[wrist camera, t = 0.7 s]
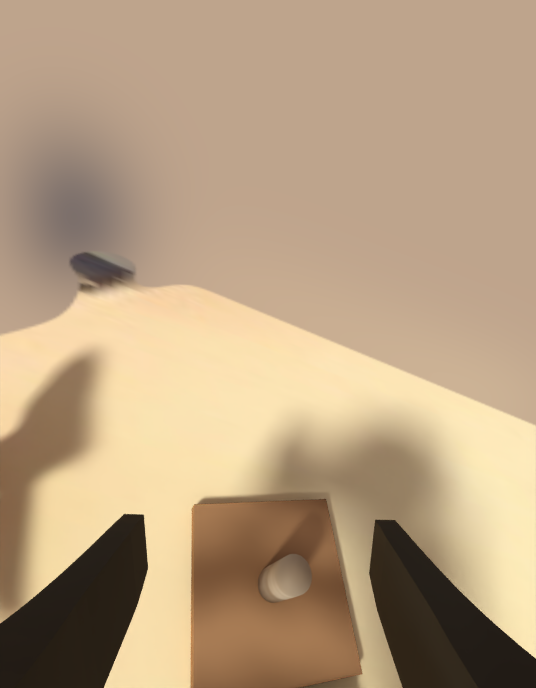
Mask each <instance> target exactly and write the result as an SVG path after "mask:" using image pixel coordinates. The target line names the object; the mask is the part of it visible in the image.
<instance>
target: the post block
mask: <svg viewBox="0 0 536 688" xmlns="http://www.w3.org/2000/svg"><path fill="white" fill-rule="evenodd" d="M360 674H362V669H361V665H360V660H359V655H358V650H357V646H356V641H355V636H354V631H353V626H352V622H351V617H350V612H349V607H348V603H347V598H346V593H345V588H344V583H343V579H342V574H341V569H340V564H339V559H338V555H337V550H336V545H335V540H334V536H333V531H332V526H331V521H330V516H329V512H328V507H327V502H326V499H319V500H294V501H270V502H245V503H220V504H195V505H194V506H193V508H192V577H191V688H300V687H304V686H309V685H314V684H318V683H323V682H328V681H332V680H337V679H342V678H346V677H351V676H355V675H360Z"/></svg>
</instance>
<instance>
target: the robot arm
mask: <svg viewBox="0 0 536 688" xmlns="http://www.w3.org/2000/svg"><path fill="white" fill-rule="evenodd" d="M147 570H148V562H147V550H146V537H145V525H144V515H137V514H124V515H123V516H122V517H121V518H120V519H119V520H117V521H116V522H115V523H114V524H113V525H112V526H111V527H110V528H109V529H108V530H107V531H106V532H105V533H104V534H103V535H102V536H101V537H100V538H99V539H98V540H97V541H96V542H95V543H94V544H93V545H92V546H91V547H90V548H88V549H87V550H86V551H85V552H84V553H83V554H82V555H81V556H80V557H79V558H78V559H77V560H76V561H75V562H73V563H72V564H71V565H70V566H69V567H68V568H67V569H66V570H65V571H64V572H63V573H62V574H60V575H59V576H58V577H57V578H56V579H55V580H53V581H52V582H51V583H50V584H49V585H48V586H47V587H45V588H44V589H43V590H42V591H41V592H40V593H38V594H37V595H36V596H35V597H34V598H33V599H31V600H30V601H29V602H28V603H26V604H25V605H24V606H23V607H21V608H20V609H19V610H18V611H16V612H15V613H14V614H12V615H11V616H10V617H8V618H7V619H6V620H4V621H3V622H2V623H1V624H0V688H104V686H105V683H106V681H107V678H108V676H109V673H110V671H111V669H112V666H113V664H114V661H115V659H116V656H117V654H118V651H119V649H120V647H121V644H122V642H123V639H124V637H125V634H126V632H127V629H128V627H129V625H130V622H131V620H132V617H133V615H134V612H135V610H136V607H137V604H138V601H139V598H140V594H141V591H142V588H143V584H144V581H145V577H146V574H147ZM369 574H370V579H371V584H372V589H373V593H374V598H375V602H376V606H377V611H378V614H379V617H380V620H381V623H382V626H383V629H384V633H385V636H386V639H387V642H388V645H389V648H390V651H391V654H392V657H393V660H394V663H395V666H396V669H397V672H398V675H399V678H400V681H401V684H402V687H403V688H536V659H535V658H534V657H533V656H532V655H531V654H529V653H528V652H527V651H526V650H524V649H523V648H522V647H521V646H520V645H518V644H517V643H516V642H515V641H514V640H513V639H511V638H510V637H509V636H508V635H507V634H506V633H504V632H503V631H502V630H501V629H500V628H499V627H498V626H496V625H495V624H494V623H493V622H492V621H491V620H490V619H489V618H487V617H486V616H485V615H484V614H483V613H482V612H481V611H480V610H479V609H478V608H477V607H476V606H475V605H474V604H473V603H472V602H471V601H469V600H468V599H467V598H466V597H465V596H464V595H463V594H462V593H461V592H460V591H459V590H458V589H457V588H456V587H455V586H454V585H453V584H452V583H451V582H450V580H449V579H448V578H447V577H446V576H445V575H444V574H443V573H442V572H441V571H440V570H439V569H438V568H437V567H436V566H435V565H434V563H433V562H432V561H431V560H430V559H429V558H428V557H427V556H426V555H425V554H424V552H423V551H422V550H421V549H420V548H419V547H418V546H417V545H416V543H415V542H414V541H413V540H412V539H411V538H410V537H409V535H408V534H407V533H406V532H405V531H404V530H403V529H402V528H401V526H400V525H399V524H398V523H397V522H396V521H395V520H375V526H374V535H373V544H372V553H371V562H370V571H369Z"/></svg>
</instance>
